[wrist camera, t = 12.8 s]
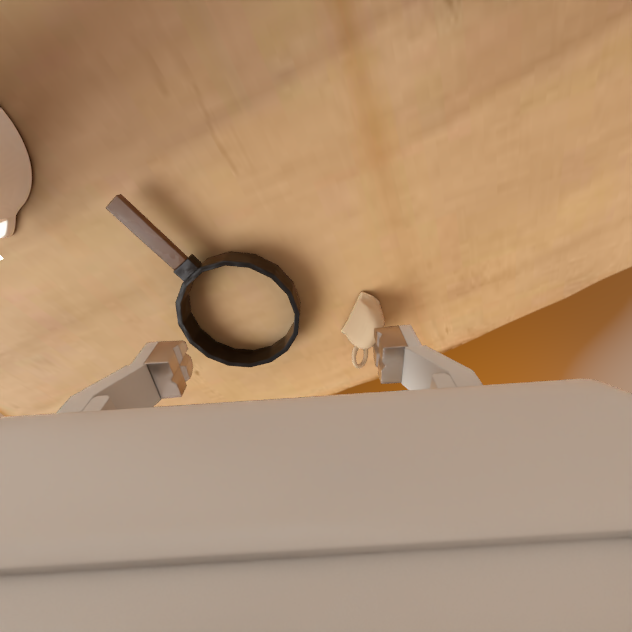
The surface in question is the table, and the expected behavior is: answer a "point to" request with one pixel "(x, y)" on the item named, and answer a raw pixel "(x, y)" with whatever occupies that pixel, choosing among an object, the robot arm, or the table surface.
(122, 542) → the robot arm
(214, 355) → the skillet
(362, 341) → the decorative ornament
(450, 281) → the table surface
